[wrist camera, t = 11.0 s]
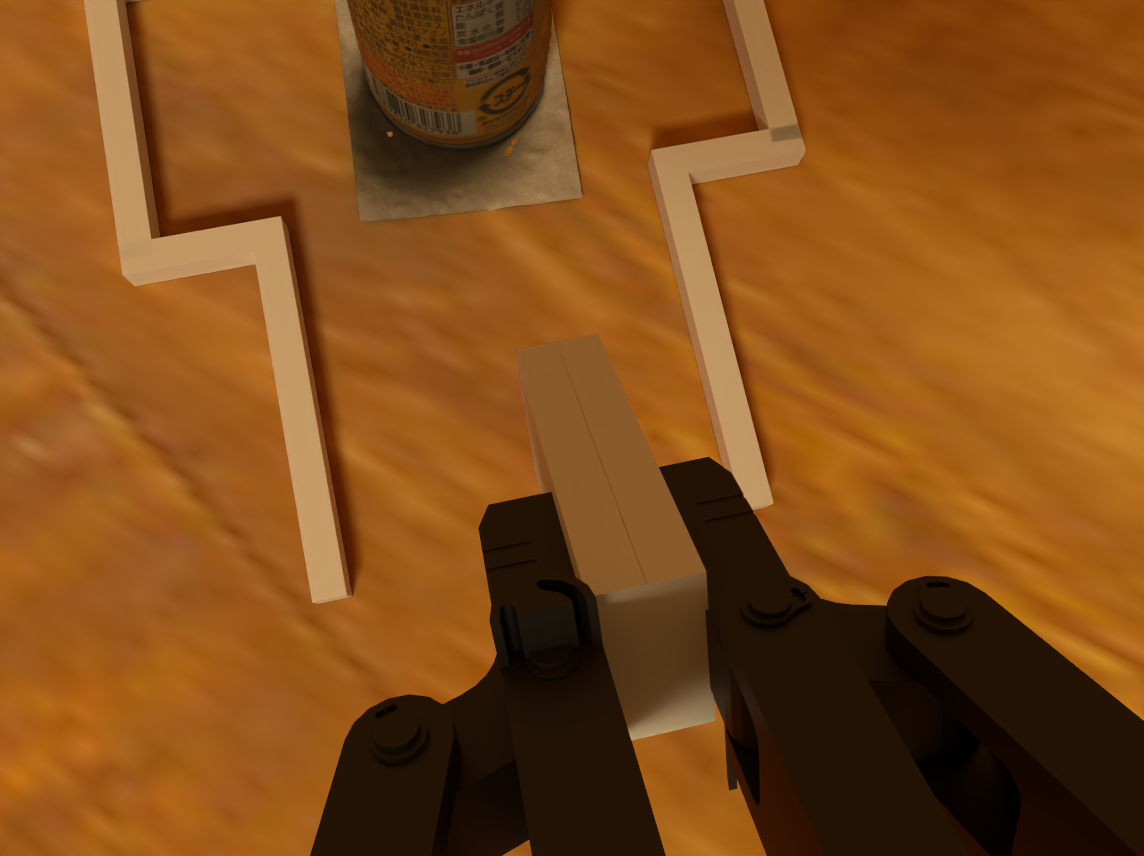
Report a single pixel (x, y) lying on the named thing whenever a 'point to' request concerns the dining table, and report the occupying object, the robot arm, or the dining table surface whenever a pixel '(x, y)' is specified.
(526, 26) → the condiment
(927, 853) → the robot arm
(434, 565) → the dining table surface
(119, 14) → the t outline
